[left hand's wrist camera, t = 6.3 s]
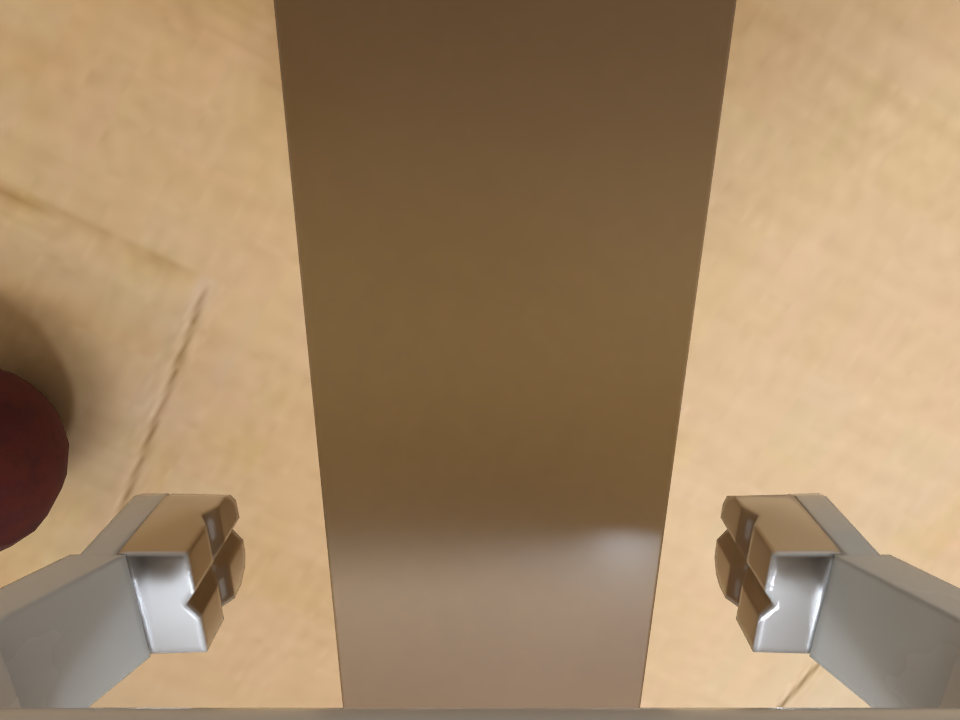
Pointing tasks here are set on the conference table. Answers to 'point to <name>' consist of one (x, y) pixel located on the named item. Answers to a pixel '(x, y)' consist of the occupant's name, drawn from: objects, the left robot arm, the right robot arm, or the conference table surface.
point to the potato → (28, 458)
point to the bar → (498, 328)
